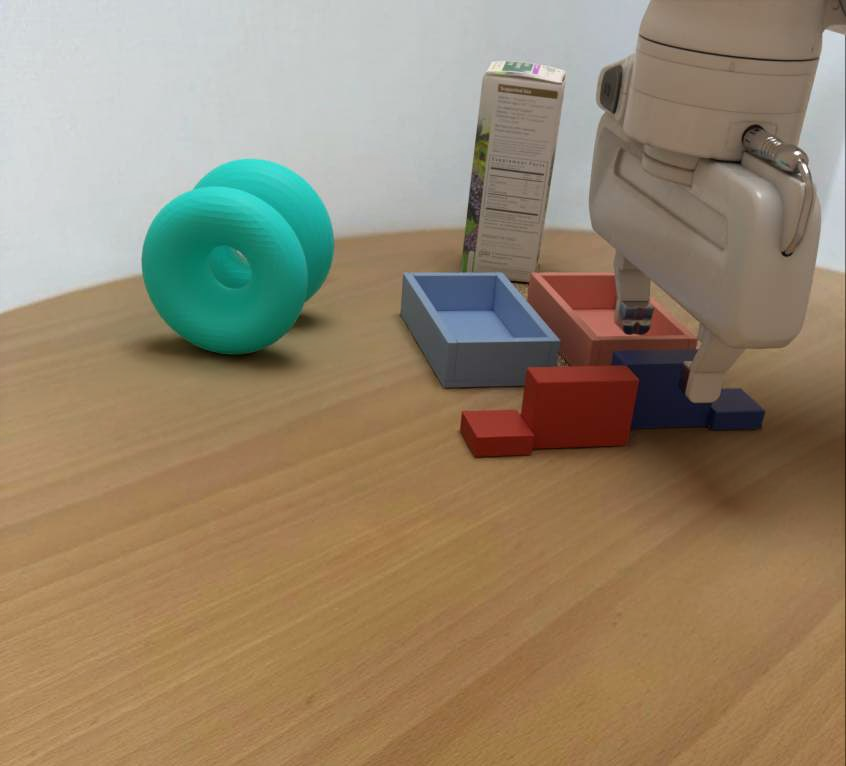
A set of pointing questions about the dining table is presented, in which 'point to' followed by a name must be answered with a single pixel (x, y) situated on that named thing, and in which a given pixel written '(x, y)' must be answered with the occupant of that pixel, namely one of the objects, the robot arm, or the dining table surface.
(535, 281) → the red bin
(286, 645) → the dining table surface
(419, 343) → the blue bin
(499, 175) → the syrup box
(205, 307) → the turquoise yo-yo
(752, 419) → the dark blue l-shaped piece
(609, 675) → the dining table surface
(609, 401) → the two-tier red step
